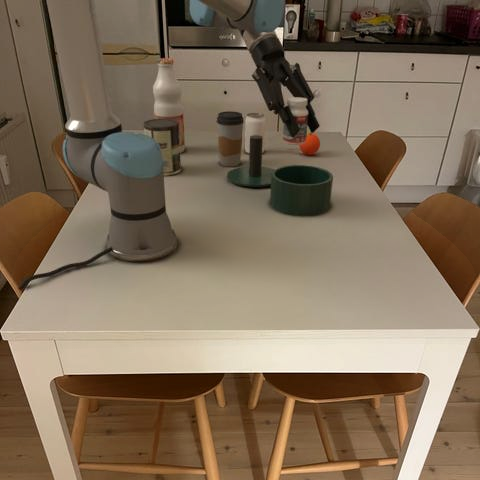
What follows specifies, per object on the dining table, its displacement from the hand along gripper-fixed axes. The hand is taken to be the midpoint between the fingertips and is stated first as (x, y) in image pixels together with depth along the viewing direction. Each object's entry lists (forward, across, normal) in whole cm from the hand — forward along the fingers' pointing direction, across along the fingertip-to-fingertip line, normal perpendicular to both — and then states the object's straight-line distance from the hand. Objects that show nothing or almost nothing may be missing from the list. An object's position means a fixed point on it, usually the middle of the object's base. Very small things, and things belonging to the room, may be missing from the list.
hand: (305, 131), depth 121 cm
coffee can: (-19, -12, +48) cm, 53 cm away
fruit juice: (-31, 0, +59) cm, 67 cm away
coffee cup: (-15, +8, +43) cm, 46 cm away
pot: (+12, +3, +16) cm, 20 cm away
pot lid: (-4, +6, +31) cm, 32 cm away
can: (-18, +22, +47) cm, 55 cm away
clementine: (-10, +35, +38) cm, 53 cm away
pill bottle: (0, 0, +5) cm, 5 cm away
